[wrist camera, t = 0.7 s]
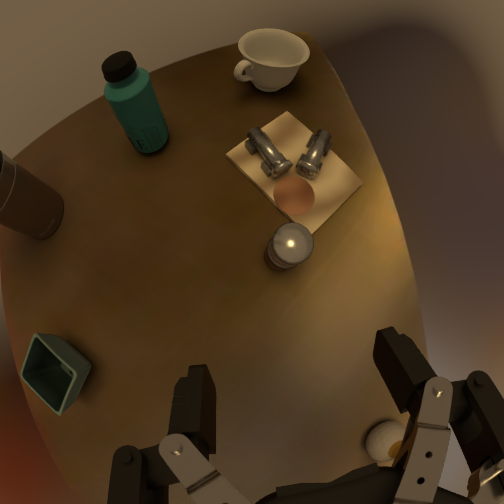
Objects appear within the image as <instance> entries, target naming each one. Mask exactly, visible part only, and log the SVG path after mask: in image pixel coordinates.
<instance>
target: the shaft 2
mask: <svg viewBox="0 0 504 504" xmlns="http://www.w3.org/2000/svg"><path fill="white" fill-rule="evenodd" d="M330 139H331V134H330V133H329V132H328V131H326V130H323V129H320V130H318V131H317V133H316V135H314V134H312V135H311V137H310V139H309V141H308V143H307V145H306V147H307V148H309V149H308V151H307V153H306V155H305V154H303V153H302V155H301V157H300V158H299V160H298V162H297V164H296V169H297V171H298V172H299V173H300V174H302V175H303V176H305V177H308V178H316V177H317V175H318V173H319V171H320V169H321V167H322V165H323V163H321V162H320V161H321V158H322V156H324V157H325V156H326V155H327V153H328V152H329V149H330V147H331V145H332V143H330V142H329V141H330Z"/></svg>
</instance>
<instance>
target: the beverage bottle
mask: <svg viewBox="0 0 504 504" xmlns="http://www.w3.org/2000/svg"><path fill="white" fill-rule="evenodd" d="M102 71H103V74H104V78H105V80H106V81H107V84H106V85H105V88H104V96H105V98H106V99H107V100H108V102H109V104H110V105H111V108H112V109H113V110H114V113H115V115H116V117H117V118H118V119H117V120H119V121H120V123H121V125H122V127H123V128H124V129H123V130H125V133H127V135H128V138H129V140H130V141H131V142H132V143H131V144H133V146H134V147H135V149H137V150H138V151H140V152H143V153H151V152H154V151H157V150H158V149H160V148H161V147H162V146H163V145H164V144H165V143H166V141H167V138H168V129H167V127H168V126H166V124H167V123H165V122H166V121H165V120H164V118H163V116H164V115H163V114H162V113H163V112H161V109H160V107H161V106H159V104H160V103H158V101H157V98H156V95H155V92H154V89H153V86H152V83H151V80H150V75H149V73H148V71H146V70H145V69H143V68H140V67H137V64H136V61H135V60H134V58H133V56H132V54H131V53H130V52H128V51H120V52H117V53H115V54H112V55H111V56H109V57H108V58H107V59H106V60H105V61H104V62H103V64H102Z"/></svg>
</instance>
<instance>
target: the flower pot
mask: <svg viewBox="0 0 504 504" xmlns="http://www.w3.org/2000/svg"><path fill="white" fill-rule="evenodd" d="M91 366H92V365H91V363H90V361H88V360H87V359H86V358H85V357H84V356H82V355H81V354H80V353H79V352H78V351H77V350H76V349H75V348H73V347H72V346H71V345H70V344H69V343H68V342H66V341H65V340H64V339H62V338H60V337H58V336H55V335H50V334H41V333H34V334H33V337H32V340H31V342H30V345H29V348H28V351H27V354H26V357H25V360H24V363H23V366H22V369H21V373H20V376H21V378H22V379H23V381H24V382H25V383H26V384H27V385H28V386H29V387H30V388H31V389H32V390H33V391H34V392H35V393H36V394H37V395H38V396H39V397H40V398H41V399H42V400H43V401H44V402H45V403H46V404H47V405H48V406H49V407H50V408H51V409H52V410H53V411H54V412H55V413H56V414H58V415H61V414H62V413H63V412H64V411H65V410H66V409H67V408H69V407H70V406H71V405H72V404H73V403H74V401H75V400H76V399H77V397H78V395H79V393H80V390H81V388H82V386H83V384H84V382H85V380H86V377H87V375H88V373H89V371H90V369H91ZM71 371H72V372H73V374H72V373H71Z"/></svg>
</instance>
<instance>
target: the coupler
mask: <svg viewBox="0 0 504 504" xmlns="http://www.w3.org/2000/svg"><path fill="white" fill-rule="evenodd" d="M313 247H314V240H313V237H312V234H311V233H310V231H309V230H308V229H307V228H306V227H305V226H303V225H302V224H299V223H295V222H289V223H285V224H283V225H281V226H280V227H279V228H278V229H277V230H276V231H275V233H274V235H273V237H272V238H271V239H270V241H269V242H268V245H267V247H266V249H265V251H264V261H265V263H266V265H267V266H268V267H269V268H270V269H272V270H274V271H284V270H286V269H290V268H292V267H294V266H296V265H298V264H300V263H302V262H304V261H305V260H307V259H308V258H309V257H310V255H311V253H312V251H313Z"/></svg>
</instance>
